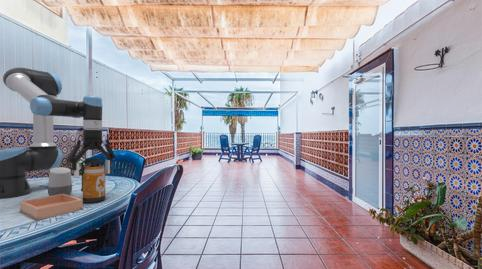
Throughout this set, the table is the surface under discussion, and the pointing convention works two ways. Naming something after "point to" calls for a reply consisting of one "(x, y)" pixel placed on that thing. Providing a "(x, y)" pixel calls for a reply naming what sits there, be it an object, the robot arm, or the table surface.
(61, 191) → the smart speaker
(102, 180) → the canister
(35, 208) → the tray
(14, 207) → the table surface
